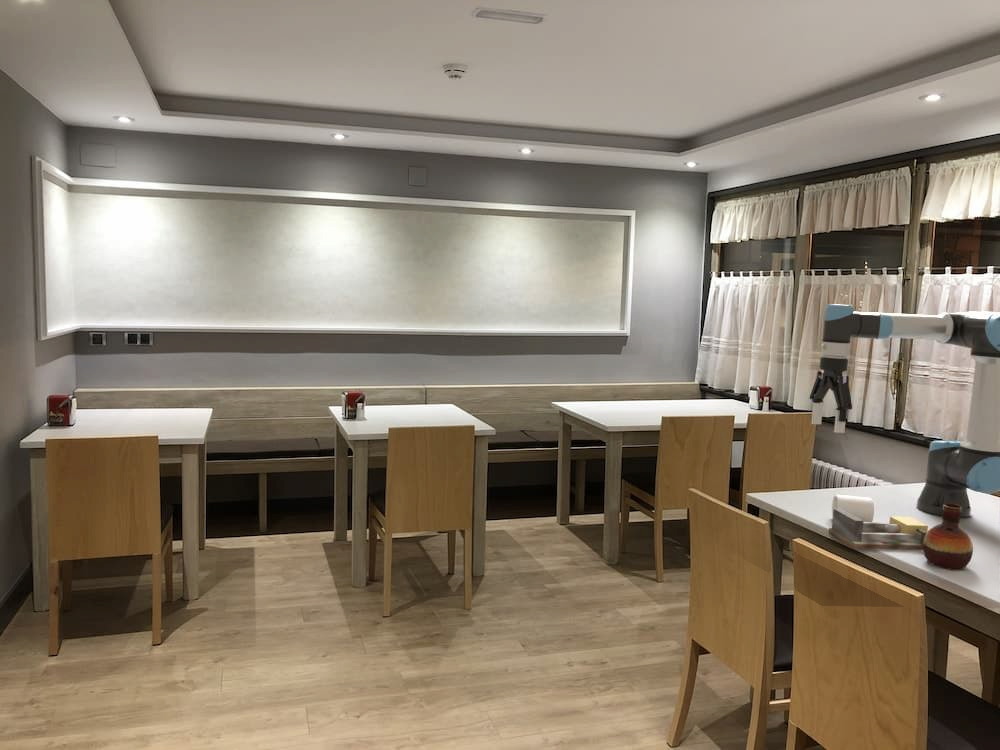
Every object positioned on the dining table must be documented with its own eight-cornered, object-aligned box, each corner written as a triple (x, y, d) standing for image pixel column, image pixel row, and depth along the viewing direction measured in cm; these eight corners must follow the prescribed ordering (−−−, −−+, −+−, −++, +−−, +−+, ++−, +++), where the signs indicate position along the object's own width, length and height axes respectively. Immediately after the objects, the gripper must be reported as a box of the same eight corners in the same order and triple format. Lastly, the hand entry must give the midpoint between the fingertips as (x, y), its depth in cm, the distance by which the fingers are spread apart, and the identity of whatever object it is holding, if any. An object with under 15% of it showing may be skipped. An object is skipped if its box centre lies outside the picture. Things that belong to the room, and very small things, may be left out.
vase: (978, 574, 192) (985, 513, 190) (930, 569, 194) (937, 509, 192) (960, 559, 203) (967, 502, 201) (914, 555, 204) (921, 497, 203)
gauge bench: (908, 533, 223) (910, 509, 223) (939, 550, 210) (942, 524, 209) (828, 531, 221) (831, 507, 220) (855, 548, 207) (858, 522, 207)
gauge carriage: (908, 532, 220) (910, 517, 220) (934, 545, 209) (936, 529, 208) (878, 531, 219) (880, 516, 219) (902, 544, 208) (904, 528, 208)
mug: (872, 528, 227) (875, 501, 227) (836, 524, 229) (839, 498, 229) (862, 517, 239) (864, 491, 238) (827, 513, 241) (830, 488, 240)
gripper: (802, 352, 240) (795, 420, 242) (844, 360, 215) (836, 435, 217) (825, 353, 240) (818, 421, 243) (870, 361, 215) (862, 436, 218)
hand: (827, 428), depth 230 cm, fingers open, 13 cm apart
